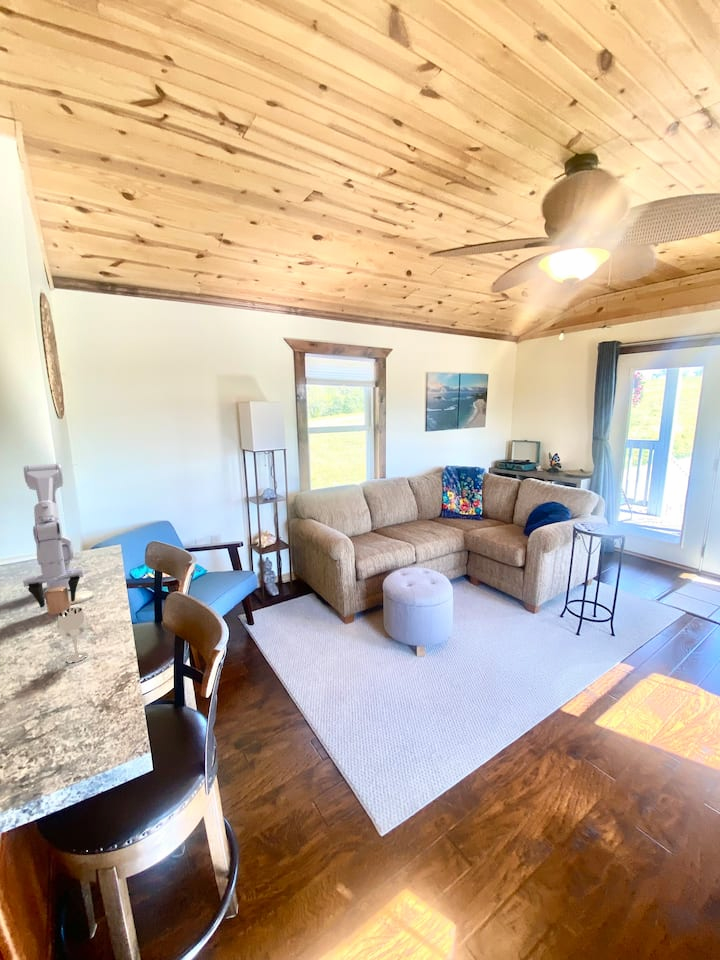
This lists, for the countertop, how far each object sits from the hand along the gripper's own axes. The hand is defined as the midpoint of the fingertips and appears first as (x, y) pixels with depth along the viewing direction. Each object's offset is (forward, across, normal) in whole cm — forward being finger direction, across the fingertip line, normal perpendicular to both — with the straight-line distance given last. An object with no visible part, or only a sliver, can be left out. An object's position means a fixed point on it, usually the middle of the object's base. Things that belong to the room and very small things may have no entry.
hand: (58, 603), depth 122 cm
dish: (+2, +4, +8) cm, 9 cm away
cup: (+2, 0, 0) cm, 2 cm away
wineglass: (+3, +9, -34) cm, 35 cm away
